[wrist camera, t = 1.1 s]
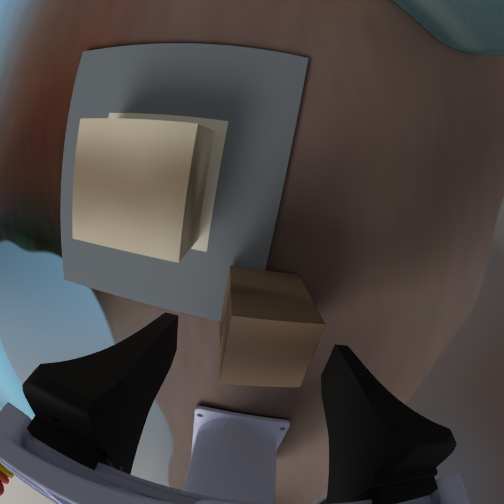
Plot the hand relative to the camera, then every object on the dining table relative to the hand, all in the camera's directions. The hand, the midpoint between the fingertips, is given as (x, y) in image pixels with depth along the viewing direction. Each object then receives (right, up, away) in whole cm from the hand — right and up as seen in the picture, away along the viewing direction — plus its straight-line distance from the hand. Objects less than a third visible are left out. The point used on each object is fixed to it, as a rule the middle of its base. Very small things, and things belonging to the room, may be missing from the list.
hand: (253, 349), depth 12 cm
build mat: (-5, +8, +3) cm, 10 cm away
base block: (-6, +8, +2) cm, 10 cm away
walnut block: (0, +1, +4) cm, 5 cm away
